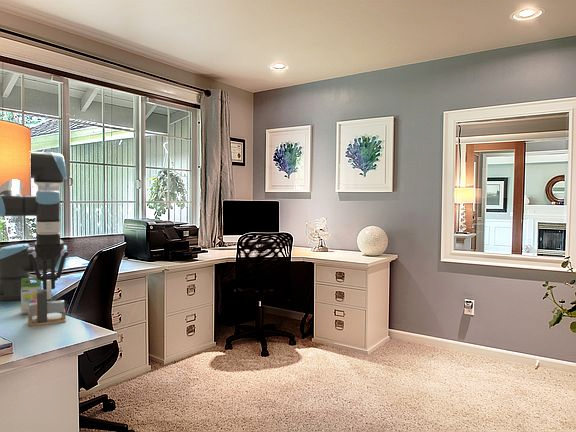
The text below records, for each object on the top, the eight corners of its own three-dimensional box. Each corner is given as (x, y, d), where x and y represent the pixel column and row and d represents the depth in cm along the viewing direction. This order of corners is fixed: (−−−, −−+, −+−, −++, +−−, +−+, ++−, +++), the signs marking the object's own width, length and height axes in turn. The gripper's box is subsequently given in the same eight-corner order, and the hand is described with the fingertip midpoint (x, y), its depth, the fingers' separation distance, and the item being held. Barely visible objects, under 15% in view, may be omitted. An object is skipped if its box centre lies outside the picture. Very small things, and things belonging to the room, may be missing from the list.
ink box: (21, 314, 165) (20, 279, 164) (21, 312, 168) (21, 278, 167) (42, 312, 168) (41, 278, 168) (42, 310, 172) (41, 276, 171)
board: (28, 320, 157) (28, 311, 157) (64, 316, 163) (64, 308, 163) (28, 326, 150) (28, 317, 150) (65, 321, 156) (65, 313, 156)
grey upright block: (37, 316, 159) (37, 289, 158) (46, 315, 160) (46, 289, 160) (37, 322, 152) (37, 294, 151) (47, 321, 153) (46, 293, 153)
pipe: (29, 313, 156) (29, 302, 155) (63, 309, 161) (63, 299, 161) (29, 316, 152) (29, 305, 152) (64, 312, 158) (64, 301, 157)
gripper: (27, 234, 149) (27, 302, 150) (69, 233, 156) (69, 298, 157) (27, 233, 156) (28, 298, 157) (68, 232, 162) (68, 294, 163)
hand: (49, 298), depth 157 cm, fingers closed
